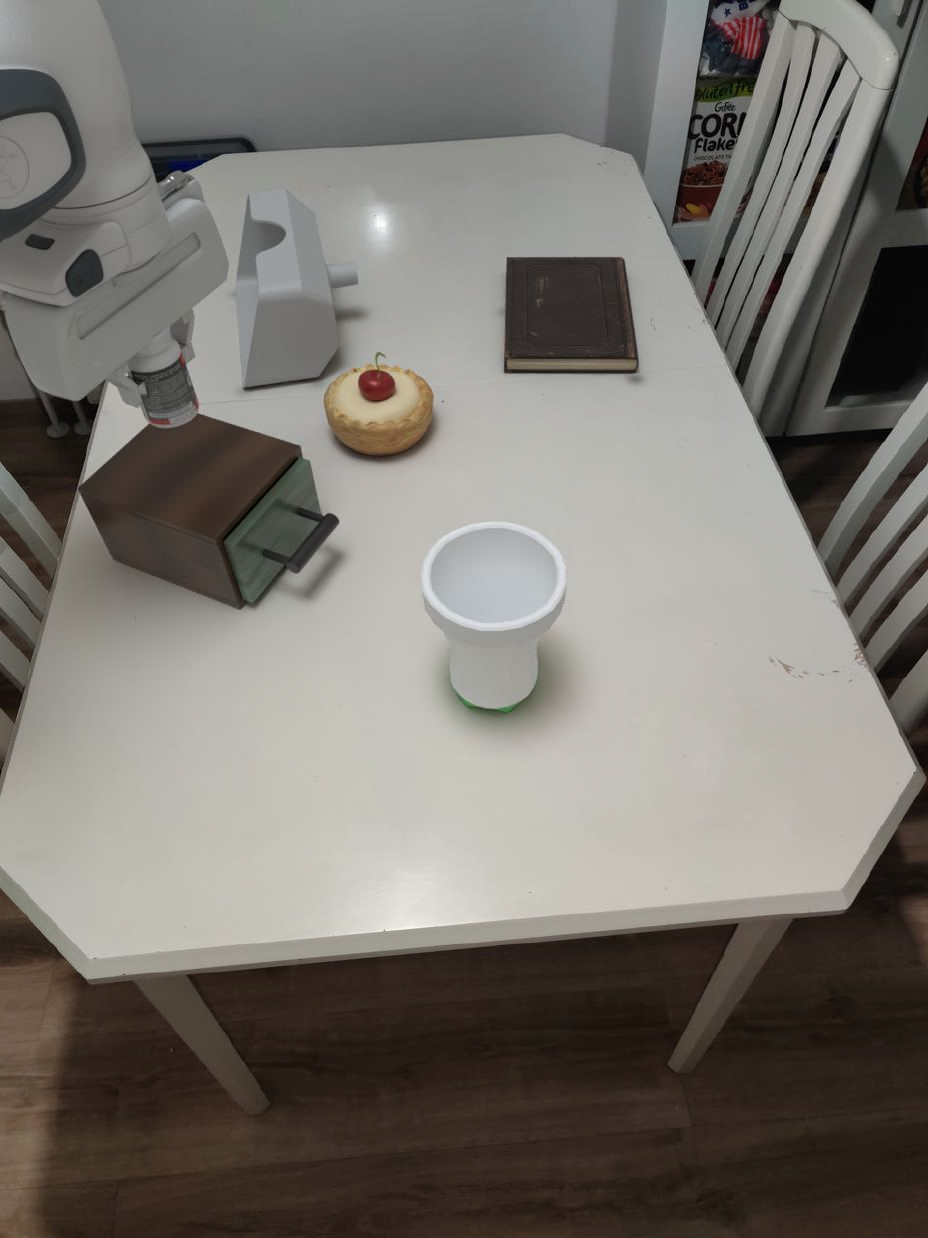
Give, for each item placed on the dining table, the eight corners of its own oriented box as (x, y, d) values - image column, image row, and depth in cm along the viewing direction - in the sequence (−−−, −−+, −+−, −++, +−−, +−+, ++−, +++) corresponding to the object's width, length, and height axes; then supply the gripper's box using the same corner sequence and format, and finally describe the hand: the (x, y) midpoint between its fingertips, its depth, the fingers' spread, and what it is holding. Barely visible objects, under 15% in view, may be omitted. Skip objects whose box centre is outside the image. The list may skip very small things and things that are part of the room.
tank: (375, 373, 105) (363, 277, 96) (243, 393, 104) (217, 297, 94) (350, 269, 121) (338, 177, 111) (235, 284, 119) (212, 192, 109)
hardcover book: (503, 372, 105) (504, 356, 103) (506, 272, 119) (506, 256, 117) (637, 373, 104) (639, 356, 102) (623, 272, 118) (625, 256, 117)
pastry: (322, 464, 95) (308, 397, 88) (337, 397, 103) (325, 331, 96) (431, 465, 95) (426, 397, 88) (438, 398, 102) (434, 331, 95)
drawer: (358, 531, 87) (348, 472, 81) (291, 618, 80) (274, 561, 74) (207, 479, 93) (187, 420, 87) (132, 556, 86) (104, 498, 80)
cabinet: (316, 517, 90) (300, 445, 82) (240, 609, 82) (215, 538, 75) (195, 476, 95) (169, 403, 87) (112, 559, 87) (76, 487, 80)
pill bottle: (210, 410, 76) (184, 325, 70) (165, 437, 74) (133, 351, 67) (179, 389, 78) (150, 304, 72) (134, 414, 76) (100, 329, 70)
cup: (529, 617, 81) (535, 505, 70) (577, 712, 74) (592, 605, 63) (414, 649, 79) (401, 540, 68) (452, 750, 72) (445, 647, 61)
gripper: (160, 154, 69) (204, 310, 80) (-35, 278, 58) (48, 441, 69) (224, 167, 68) (261, 325, 78) (36, 298, 56) (109, 462, 67)
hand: (160, 380), depth 73 cm, fingers closed on pill bottle, 5 cm apart
